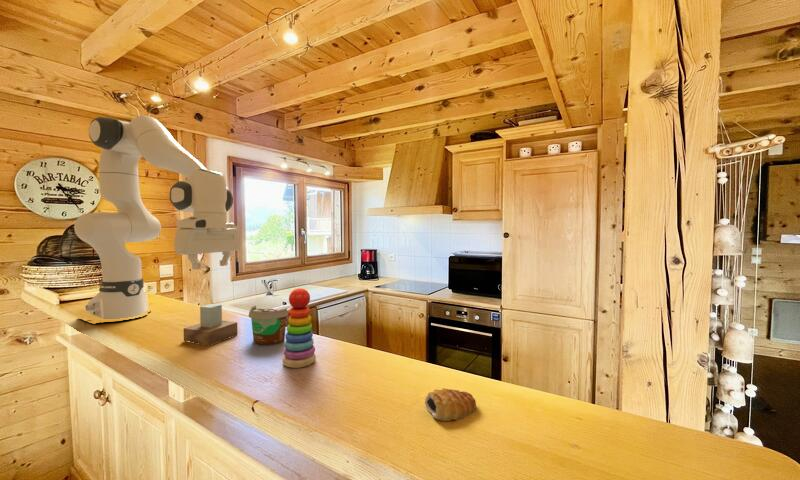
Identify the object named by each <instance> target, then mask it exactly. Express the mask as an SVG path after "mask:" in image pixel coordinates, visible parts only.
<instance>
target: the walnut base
mask: <svg viewBox="0 0 800 480" xmlns="http://www.w3.org/2000/svg"><path fill="white" fill-rule="evenodd" d="M235 335H236V336H238V322H237V321H236V322H235V321H231V320H222V324H221V325H218V326H215V327H212V328H208V327H201V326H200V323H197V324H194V325H190V326H187V327H184V328H183V342H184V341H190V342H194V343H193V344H195V343H199V344H198V345H201V344H204V345H203V346H207V345H209V347H210V346H212V344H213V345H215V344H214V343H216V344H217V342H218V343H220V342H219V341H221V342H223V341H225V340H224V339H226V340H228V339H230V338H229V337H231V338H233V337H232V336H234V337H236V336H235ZM227 338H228V339H227ZM222 340H223V341H222Z"/></svg>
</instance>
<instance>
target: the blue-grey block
mask: <svg viewBox="0 0 800 480" xmlns="http://www.w3.org/2000/svg"><path fill="white" fill-rule="evenodd" d="M199 307H200V308H199V316H200V317H199V318H200V320H199V322H200V323H199V324H200V326H201V327H208V328H212V327H215V326H218V325H221V324H222V321H223V308H222V304H217V303H210V304H205V305H202V306H199Z"/></svg>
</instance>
